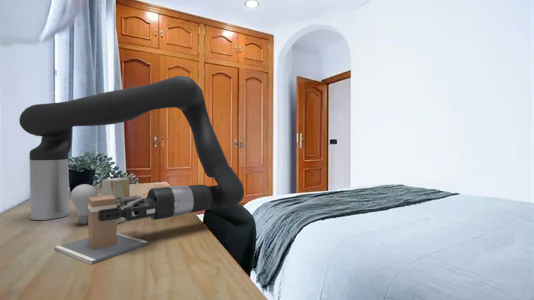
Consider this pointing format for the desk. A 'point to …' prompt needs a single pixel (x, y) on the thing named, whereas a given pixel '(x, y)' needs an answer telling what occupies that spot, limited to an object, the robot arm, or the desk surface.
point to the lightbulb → (82, 200)
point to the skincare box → (116, 189)
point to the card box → (101, 222)
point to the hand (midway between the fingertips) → (95, 211)
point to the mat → (100, 249)
